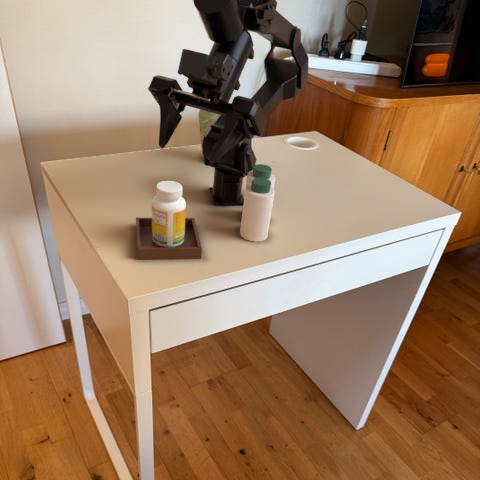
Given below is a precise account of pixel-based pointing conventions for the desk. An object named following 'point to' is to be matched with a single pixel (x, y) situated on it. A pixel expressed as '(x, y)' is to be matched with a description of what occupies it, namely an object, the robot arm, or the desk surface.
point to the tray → (153, 251)
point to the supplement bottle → (168, 214)
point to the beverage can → (206, 123)
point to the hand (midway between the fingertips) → (185, 154)
